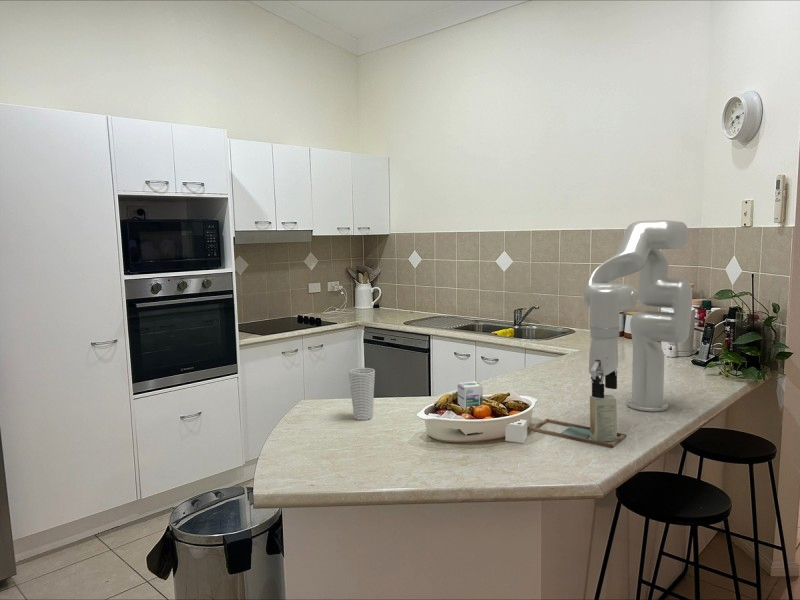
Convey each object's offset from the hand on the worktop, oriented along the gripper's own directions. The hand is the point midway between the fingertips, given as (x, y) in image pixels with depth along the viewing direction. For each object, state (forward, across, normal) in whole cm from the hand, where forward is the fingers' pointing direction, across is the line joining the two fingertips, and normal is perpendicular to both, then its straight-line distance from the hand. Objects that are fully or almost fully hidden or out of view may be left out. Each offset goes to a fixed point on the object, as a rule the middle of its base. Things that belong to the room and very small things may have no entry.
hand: (604, 392), depth 161 cm
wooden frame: (+13, +1, -8) cm, 15 cm away
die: (+13, +15, -20) cm, 28 cm away
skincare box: (+13, +1, 0) cm, 13 cm away
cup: (+12, +26, -68) cm, 74 cm away
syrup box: (+13, +17, -34) cm, 40 cm away
